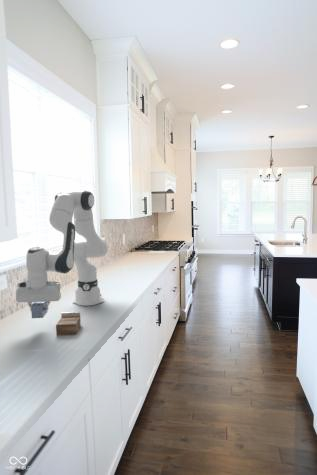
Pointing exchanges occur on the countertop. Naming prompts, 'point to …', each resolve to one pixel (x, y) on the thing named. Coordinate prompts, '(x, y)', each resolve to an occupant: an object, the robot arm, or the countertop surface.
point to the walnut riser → (68, 323)
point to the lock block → (38, 309)
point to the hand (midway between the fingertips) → (39, 310)
